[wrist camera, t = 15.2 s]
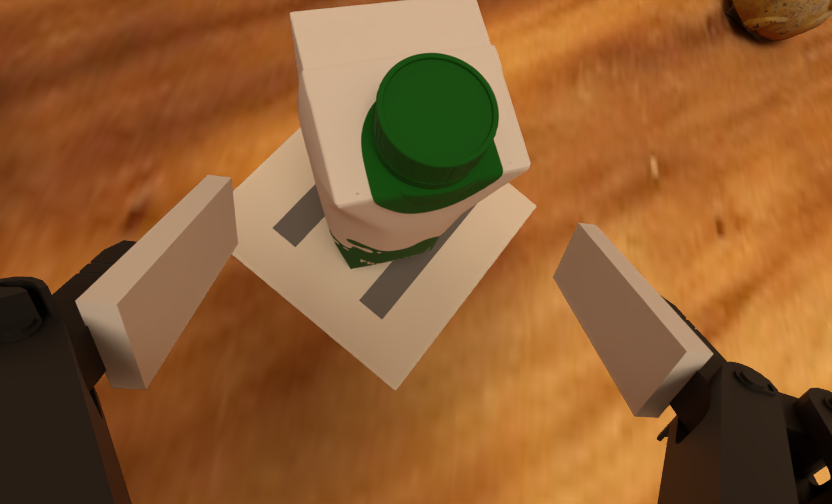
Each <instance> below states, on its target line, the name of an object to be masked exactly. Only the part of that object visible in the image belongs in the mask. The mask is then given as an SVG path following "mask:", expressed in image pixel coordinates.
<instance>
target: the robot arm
mask: <svg viewBox="0 0 832 504" xmlns="http://www.w3.org/2000/svg"><path fill="white" fill-rule="evenodd" d="M237 245H238V237H237V227H236V218H235V208H234V198H233V189H232V179H231V178H230V177H222V176H215V175H207V176H206V177H205V178H204V179H203V180H202V181H201V182H200V183H199V184H198V185H197V186H196V187H195V188H194V189H193V190H192V191H190V192H189V193H188V194H187V195H186V196H185V197H184V198H183V199H182V200H181V201H180V202H179V203H178V204H177V205H176V206H175V207H174V208H173V209H172V210H170V211H169V212H168V213H167V214H166V215H165V216H164V217H163V218H162V219H161V220H160V221H159V222H158V223H157V224H156V225H155V226H154V227H153V228H152V229H150V230H149V231H148V232H147V233H146V234H145V235H144V236H143V237H142V238H141V239H140V240H139V241H138V242H134V241H125V240H124V241H122V242H120V243H117V244H115V245H113V246H111V247H109V248H107V249H105V250H103V251H102V252H101V253H100V254H99V255H98V256H96V257H95V258H94V259H93V260H92V261H91V264H87V265H86V266H85V267H84V268H83V269H81V270H80V273H79V274H76V275H75V276H73V277H72V278H71V279H70V280H69V281H68V282H66V283H65V284H64V285H63V286H62V287H61V288H60V289H58V290H57V291H56V292H55V293H54V294H53V295H51V293H50V290H49V288H48V286H47V285H46V284H45V283H44V282H43V280H40V279H37V278H33V277H10V278H3V279H0V504H132V503H131V500H130V497H129V494H128V491H127V487H126V484H125V481H124V478H123V475H122V471H121V468H120V465H119V462H118V459H117V455H116V452H115V449H114V446H113V442H112V439H111V436H110V433H109V430H108V426H107V423H106V420H105V417H104V414H103V410H102V407H101V404H100V401H99V398H98V394H97V392H96V390H95V388H94V386H95V384H96V383H97V382H98V381H99V379H100V378H101V377H102V375H103V374H104V373H106V375H107V378H108V380H109V382H110V385H111V387H112V388H125V389H143V390H146V389H147V388H148V386H149V384H150V383H151V381H152V380H153V378H154V377H155V375H156V373H157V372H158V370H159V369H160V367H161V365H162V364H163V362H164V361H165V359H166V357H167V356H168V354H169V353H170V351H171V350H172V348H173V346H174V345H175V343H176V342H177V340H178V338H179V337H180V335H181V334H182V332H183V330H184V329H185V327H186V326H187V324H188V323H189V321H190V319H191V318H192V316H193V315H194V313H195V311H196V310H197V308H198V307H199V305H200V304H201V302H202V300H203V299H204V297H205V296H206V294H207V292H208V291H209V289H210V288H211V286H212V284H213V283H214V281H215V280H216V278H217V277H218V275H219V273H220V272H221V270H222V269H223V267H224V265H225V264H226V262H227V261H228V259H229V257H230V256H231V254H232V253H233V251H234V250H235V248H236V246H237ZM553 278H554V280H555V282H556V283H557V285H558V287H559V288H560V290H561V292H562V293H563V295H564V297H565V299H566V300H567V302H568V304H569V305H570V307H571V309H572V311H573V312H574V314H575V316H576V317H577V319H578V321H579V322H580V324H581V326H582V328H583V329H584V331H585V333H586V334H587V336H588V338H589V340H590V341H591V343H592V345H593V346H594V348H595V350H596V351H597V353H598V355H599V357H600V358H601V360H602V362H603V363H604V365H605V367H606V369H607V370H608V372H609V374H610V375H611V377H612V379H613V381H614V382H615V384H616V386H617V387H618V389H619V391H620V392H621V394H622V396H623V398H624V399H625V401H626V403H627V404H628V406H629V408H630V410H631V411H632V413H633V415H634V416H637V417H655V418H658V417H659V416H660V415H661V414H662V413H663V411H664V410H665V409H666V408H667V407H668V406H669V405H671V407H672V408H673V410H674V411H675V413H676V414H677V415H676V416H675V418H674V419H673V420H672V421H671V422H670V423H669V424H668V425H667V426H666V427H665V428H664V430H663V431H662V432H661V433H660V434H659V435H658V437H657V440H659V441H661V440H662V439H663V438H664V437H668V441H667V447H666V453H665V460H664V466H663V472H662V479H661V485H660V491H659V498H658V504H832V392H830V391H828V390H824V389H820V388H810V389H809V390H808V391H807V392H806V393H804V394H803V395H802V396H801V397H800V398H796V397H793V396H789V395H786V394H783V393H780V392H778V390H777V388H776V387H775V386H774V385H773V384H772V383H771V382H770V381H769V380H768V379H767V378H765V377H764V376H763V375H762V374H760V373H758V372H757V371H755V370H753V369H752V368H750V367H748V366H745V365H743V364H740V363H736V362H727V361H726V360H725V359H724V358H723V357H722V356H721V355H720V353H719V352H718V351H717V350H716V349H715V348H714V347H713V346H712V345H711V344H710V343H709V342H708V341H707V340H706V338H705V337H704V336H703V335H702V334H701V333H700V332H699V331H698V330H697V329H695V327H694V326H693V324H692V323H691V322H690V321H689V320H686V317H685V316H684V315H683V314H682V313H681V312H680V311H679V309H678V308H677V307H676V306H675V305H673V304H672V303H670V302H669V301H668V300H666V299H665V298H663V297H662V296H661V295H659V293H658V292H657V291H656V290H655V289H654V288H653V287H652V286H651V285H650V284H649V283H648V281H647V280H646V279H645V278H644V277H643V276H642V275H641V274H640V273H639V272H638V271H637V269H636V268H635V267H634V266H633V265H632V264H631V263H630V262H629V261H628V260H627V258H626V257H625V256H624V255H623V254H622V253H621V252H620V251H619V250H618V249H617V248H616V246H615V245H614V244H613V243H612V242H611V241H610V240H609V239H608V238H607V237H606V235H605V234H604V233H603V232H602V231H601V230H600V229H599V228H598V227H597V226H596V225H592V224H584V223H578V224H577V227H576V229H575V231H574V233H573V235H572V237H571V240H570V242H569V244H568V246H567V248H566V251H565V253H564V255H563V257H562V259H561V261H560V264H559V266H558V268H557V270H556V272H555V274H554V277H553ZM825 466H827V468H828V469H829V472H830V475H831V479H830V480H829V481H827V482H826V483H824V484H822V485H819V484H818V483H817V482H816V479H815V477H814V474H815V473H817V472H818V471H819V470H821V469H822V468H824V467H825Z"/></svg>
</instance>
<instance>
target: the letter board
mask: <svg viewBox="0 0 832 504" xmlns="http://www.w3.org/2000/svg"><path fill="white" fill-rule="evenodd" d="M233 198H234V208H235V218H236V227H237V237H238V245H237V246H236V248H235V250H234V251H233V253H232V255H233V256H235V257H236V258H237V259H238V260H239V261H241V262H242V263H243V264H244V265H245V266H247V267H248V268H249V269H250V270H251V271H253V272H254V273H255V274H256V275H257V276H258V277H260V278H261V279H262V280H263V281H264V282H266V283H267V284H268V285H269V286H270V287H272V288H273V289H274V290H275V291H276V292H278V293H279V294H280V295H281V296H282V297H284V298H285V299H286V300H287V301H288V302H290V303H291V304H292V305H293V306H294V307H296V308H297V309H298V310H299V311H300V312H302V313H303V314H304V315H305V316H306V317H308V318H309V319H310V320H311V321H312V322H314V323H315V324H316V325H317V326H318V327H319V328H321V329H322V330H323V331H324V332H325V333H327V334H328V335H329V336H330V337H331V338H333V339H334V340H335V341H336V342H337V343H339V344H340V345H341V346H342V347H343V348H345V349H346V350H347V351H348V352H349V353H351V354H352V355H353V356H354V357H355V358H357V359H358V360H359V361H360V362H361V363H363V364H364V365H365V366H366V367H367V368H369V369H370V370H371V371H372V372H373V373H375V374H376V375H377V376H378V377H379V378H380V379H382V380H383V381H384V382H385V383H386V384H388V385H389V386H390V387H391V388H392V389H394V390H395V391H396V390H397V389H398V387H399V386H400V385H401V383H402V382H403V381H404V380H405V378H406V377H407V376H408V374H409V373H410V372H411V370H412V369H413V368H414V366H415V365H416V364H417V362H418V361H419V360H420V359H421V357H422V356H423V355H424V353H425V352H426V351H427V349H428V348H429V347H430V345H431V344H432V343H433V341H434V340H435V339H436V338H437V336H438V335H439V334H440V332H441V331H442V330H443V328H444V327H445V326H446V324H447V323H448V322H449V320H450V319H451V318H452V317H453V315H454V314H455V313H456V311H457V310H458V309H459V307H460V306H461V305H462V303H463V302H464V301H465V300H466V298H467V297H468V296H469V294H470V293H471V292H472V290H473V289H474V288H475V286H476V285H477V284H478V282H479V281H480V280H481V279H482V277H483V276H484V275H485V273H486V272H487V271H488V269H489V268H490V267H491V265H492V264H493V263H494V261H495V260H496V259H497V258H498V256H499V255H500V254H501V252H502V251H503V250H504V248H505V247H506V246H507V244H508V243H509V242H510V240H511V239H512V238H513V237H514V235H515V234H516V233H517V231H518V230H519V229H520V227H521V226H522V225H523V223H524V222H525V221H526V219H527V218H528V217H529V216H530V214H531V213H532V212H533V210H534V209H535V208H536V205H535V204H533V203H532V202H531V201H530V200H529V199H527V198H526V197H525V196H524V195H523V194H521V193H520V192H519V191H518V190H517V189H515V188H514V187H513V186H512V185H511V184H509V183H507V184H505V185H504V186H502V187H501V188H499V189H498V190H496V191H495V192H493V193H492V194H490V195H489V196H487V197H486V198H484V199H483V200H482V201H480V202H479V203H477V204H476V205H474V206H473V207H471V208H470V209H468V210H467V211H465V212H464V213H462V214H461V215H460V216H459V217H458V219H457V220H456V221H455V222H454V223H453V224H452V225H451V226H450V227H449V228H448V229H447V230H446V231H445V232H444V233H443V234H442V235H441V236H440V237H439V238H438V240H437V242H436V243H435V245H434V247H433V248H432V250H429V251H427V252H424V253H422V254H419V255H415V256H411V257H407V258H403V259H399V260H395V261H390V262H385V263H381V264H376V265H370V266H365V267H359V268H353V269H350V267H349V266H348V264H347V262H346V261H345V259H344V258H343V256H342V254H341V253H340V251H339V250H338V248H337V246H336V244H335V242H334V240H333V238H332V236H331V233H330V231H329V228H328V224H327V221H326V218H325V215H324V211H323V208H322V205H321V201H320V198H319V194H318V191H317V187H316V184H315V180H314V176H313V172H312V168H311V164H310V160H309V156H308V153H307V150H306V146H305V142H304V138H303V134H302V130H301V127H300V128H299V129H298V130H297V131H296V132H295V133H294V134H293V135H292V136H291V137H290V138H289V139H288V140H286V141H285V142H284V143H283V144H282V145H281V146H280V147H279V148H278V149H277V150H276V151H275V152H274V153H273V154H272V155H271V156H270V157H269V158H268V159H267V160H266V161H264V162H263V163H262V164H261V165H260V166H259V167H258V168H257V169H256V170H255V171H254V172H253V173H252V174H251V175H250V176H249V177H248V178H247V179H246V180H245V181H244V182H242V183H241V184H240V185H239V186H238V187H237V188H236V189H235V190H234V191H233Z"/></svg>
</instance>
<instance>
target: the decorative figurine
mask: <svg viewBox="0 0 832 504" xmlns="http://www.w3.org/2000/svg"><path fill="white" fill-rule="evenodd" d="M732 1H733V5H732V6H731V8H730V9H729V10H728V11H727V12H726V14H727V15H728V16H730V17H732V18H733V19H734V20H735V21H736V22H737V23H738V24H740V25H741V26H742V27H743V28H744V29H745V30H746V31H747V32H748V33H749V34H751V35H752V36H753V37H754V38H755V39H756V40H760V39H761V38H763V37H765V38H766V39H770V40H784V39H788V38H790V37H793V36H796V35H799V34H801V33H804V32H806V31H809V30H811V29H813V28H815V27H817V26H819V25H821V24H822V23H823V22H824V21H826V20H827V19H828V18H829V17H831V16H832V0H732Z"/></svg>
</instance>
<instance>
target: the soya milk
mask: <svg viewBox="0 0 832 504" xmlns="http://www.w3.org/2000/svg"><path fill="white" fill-rule="evenodd" d="M290 20H291V28H292V35H293V43H294V50H295V57H296V64H297V71H298V80H299V90H298V113H299V121H300V126H301V130H302V134H303V138H304V142H305V146H306V150H307V153H308V156H309V160H310V164H311V168H312V172H313V176H314V180H315V184H316V187H317V191H318V194H319V198H320V201H321V205H322V208H323V211H324V215H325V218H326V221H327V224H328V228H329V231H330V233H331V236H332V238H333V240H334V242H335V244H336V246H337V248H338V250H339V251H340V253H341V254H342V256H343V258H344V259H345V261H346V262H347V264H348V266H349V267H350V269H353V268H359V267H365V266H370V265H376V264H381V263H385V262H390V261H395V260H399V259H403V258H407V257H411V256H415V255H419V254H422V253H424V252H427V251H429V250H432V248H433V247H434V245H435V243H436V242H437V240H438V238H439V237H440V236H441V235H442V234H443V233H444V232H445V231H446V230H447V229H448V228H449V227H450V226H451V225H452V224H453V223H454V222H455V221H456V220H457V219H458V217H459V216H460V215H461V214H462V213H464V212H465V211H467V210H468V209H470V208H471V207H473V206H474V205H476V204H477V203H479V202H480V201H482V200H483V199H484V198H486V197H487V196H489V195H490V194H492V193H493V192H495V191H496V190H498V189H499V188H501V187H502V186H504V185H505V184H507V183H508V182H510V181H511V180H513V179H515V178H516V177H518V176H519V175H521V174H522V173H524V172H525V171H527V170H528V169H529V167H530V165H531V163H530V160H529V157H528V153H527V150H526V147H525V144H524V140H523V137H522V134H521V131H520V127H519V124H518V121H517V118H516V115H515V111H514V108H513V105H512V102H511V98H510V95H509V92H508V89H507V85H506V82H505V79H504V76H503V73H502V71H503V70H502V65H501V62H500V58H499V55H498V53H497V50H496V47H495V46H494V45H491V44H490V40H489V37H488V34H487V31H486V28H485V25H484V22H483V19H482V16H481V13H480V10H479V6H478V3H477V0H405V1H395V2H385V3H375V4H366V5H356V6H346V7H336V8H327V9H317V10H307V11H297V12H291V13H290Z"/></svg>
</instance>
